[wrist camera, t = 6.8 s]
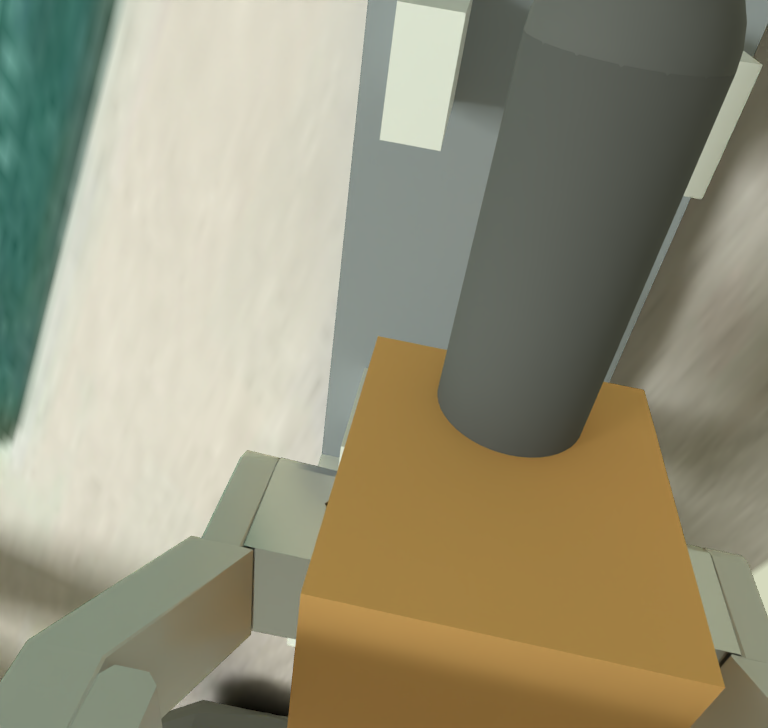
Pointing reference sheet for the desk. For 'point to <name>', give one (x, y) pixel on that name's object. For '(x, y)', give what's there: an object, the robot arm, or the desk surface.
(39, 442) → the desk surface
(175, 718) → the black yellow curved piece
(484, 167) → the grey fixture with posts
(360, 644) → the orange cube on rod
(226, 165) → the desk surface
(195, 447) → the desk surface
